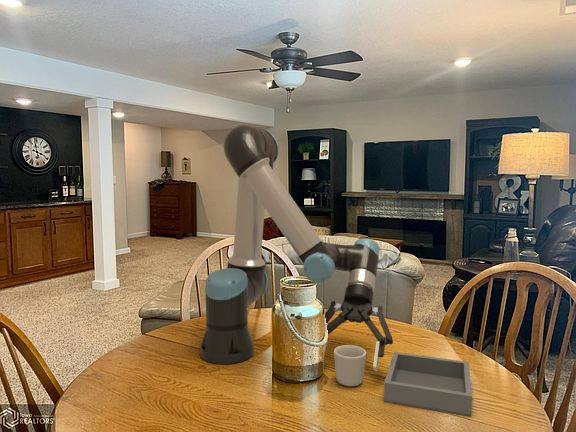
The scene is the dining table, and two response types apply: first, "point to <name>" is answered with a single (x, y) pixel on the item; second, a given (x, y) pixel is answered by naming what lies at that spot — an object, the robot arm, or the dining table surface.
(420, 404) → the tray
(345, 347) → the cup
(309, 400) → the dining table surface
